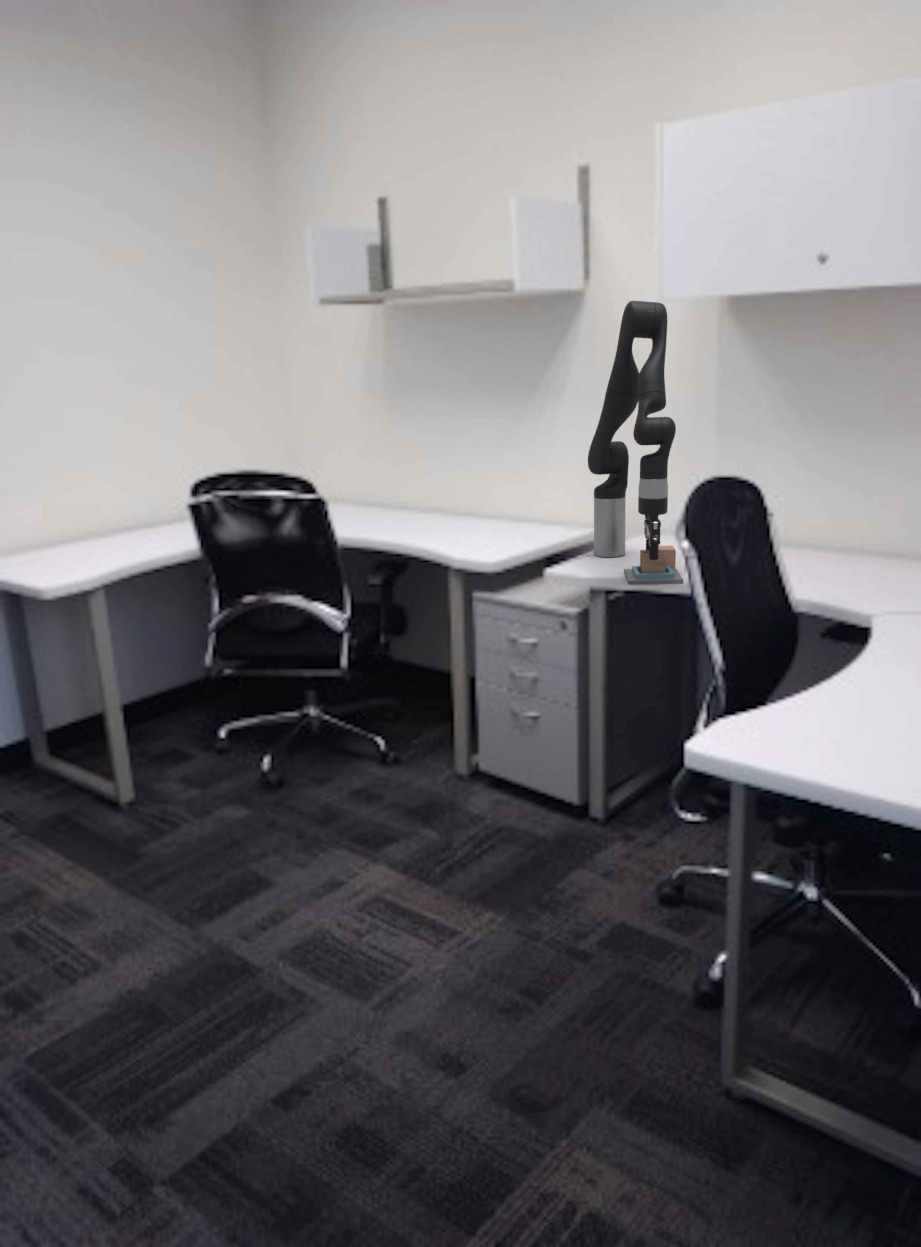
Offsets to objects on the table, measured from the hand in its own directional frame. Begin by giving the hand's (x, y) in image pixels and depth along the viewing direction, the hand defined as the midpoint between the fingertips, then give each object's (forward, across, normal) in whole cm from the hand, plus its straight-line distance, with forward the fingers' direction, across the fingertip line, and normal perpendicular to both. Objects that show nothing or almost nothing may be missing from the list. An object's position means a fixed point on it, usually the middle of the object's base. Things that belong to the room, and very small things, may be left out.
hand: (651, 556), depth 258 cm
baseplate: (+6, 0, 0) cm, 6 cm away
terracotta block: (+6, +11, -4) cm, 13 cm away
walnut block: (+5, 0, 0) cm, 5 cm away
